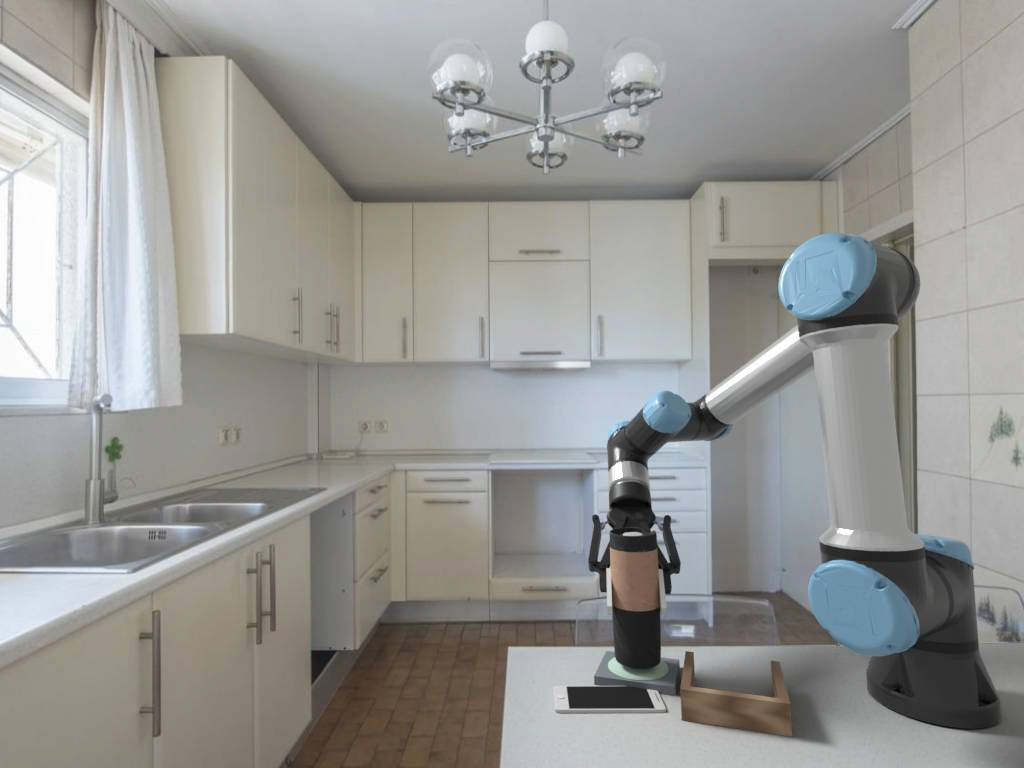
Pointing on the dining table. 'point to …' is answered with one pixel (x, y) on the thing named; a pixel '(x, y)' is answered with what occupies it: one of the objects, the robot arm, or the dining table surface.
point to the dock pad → (638, 675)
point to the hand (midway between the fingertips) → (636, 611)
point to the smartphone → (606, 699)
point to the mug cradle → (736, 704)
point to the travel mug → (635, 597)
